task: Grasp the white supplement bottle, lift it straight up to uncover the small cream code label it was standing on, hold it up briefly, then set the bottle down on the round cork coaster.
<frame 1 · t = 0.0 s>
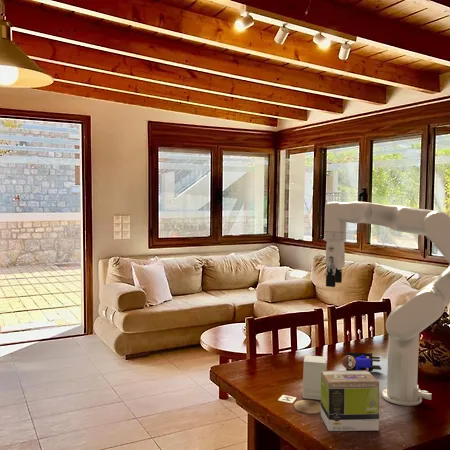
hand: (333, 284, 171), 37 cm above the table, tool pointing down, fingers open, 9 cm apart
character figurine: (361, 372, 187), on the table
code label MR: (287, 399, 160), on the table
cork coaster: (308, 407, 154), on the table
supplement box: (313, 395, 163), on the table, touching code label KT
tea box: (348, 424, 143), on the table
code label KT: (313, 395, 163), on the table
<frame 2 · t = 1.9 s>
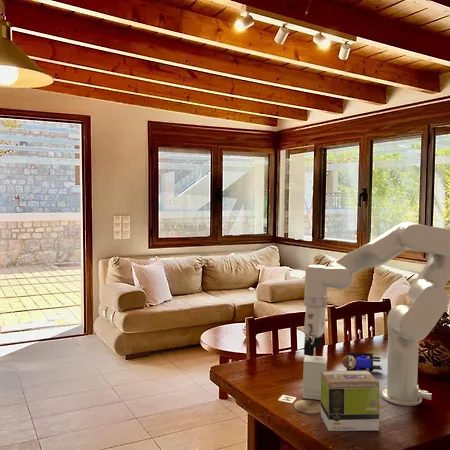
hand: (312, 351, 162), 15 cm above the table, tool pointing down, fingers open, 9 cm apart
nothing on the table moved.
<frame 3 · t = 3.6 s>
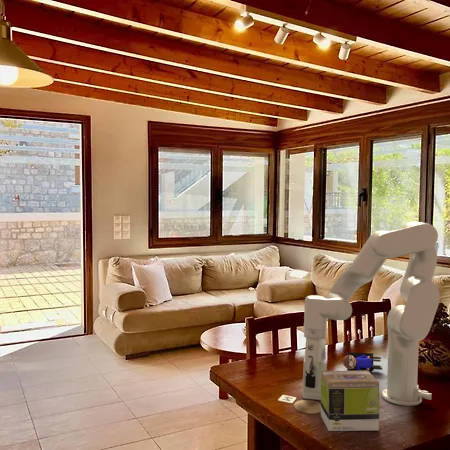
hand: (313, 382, 163), 5 cm above the table, tool pointing down, fingers closed on supplement box, 8 cm apart
supplement box: (313, 395, 163), on the table, touching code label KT, gripper
everything else where it was.
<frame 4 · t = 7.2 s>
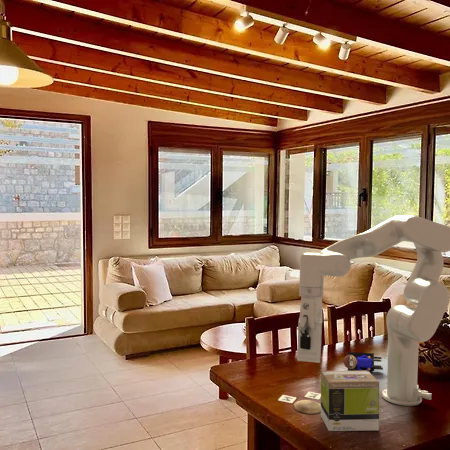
hand: (309, 345, 153), 20 cm above the table, tool pointing down, fingers closed on supplement box, 8 cm apart
supplement box: (309, 359, 154), point 16 cm above the table, touching gripper
everything else where it was.
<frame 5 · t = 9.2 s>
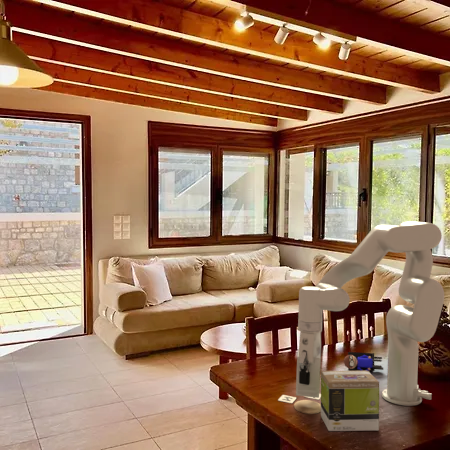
hand: (308, 379, 153), 9 cm above the table, tool pointing down, fingers closed on supplement box, 8 cm apart
supplement box: (307, 393, 153), point 5 cm above the table, touching gripper
everything else where it was.
when the fingers open (6 cm above the table, at t = 11.0 s): supplement box drops 1 cm, resting on cork coaster.
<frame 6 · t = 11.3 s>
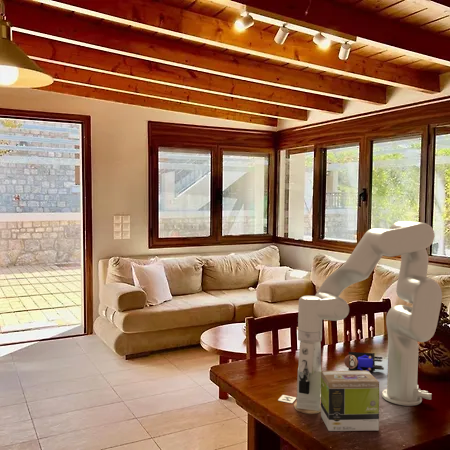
hand: (308, 387, 153), 6 cm above the table, tool pointing down, fingers open, 9 cm apart
supplement box: (308, 405, 154), resting on cork coaster
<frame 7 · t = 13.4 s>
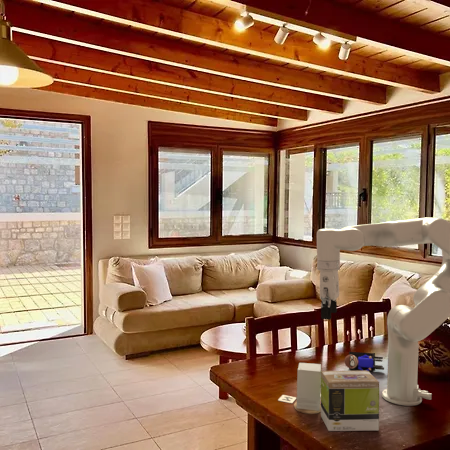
hand: (329, 315, 162), 28 cm above the table, tool pointing down, fingers open, 9 cm apart
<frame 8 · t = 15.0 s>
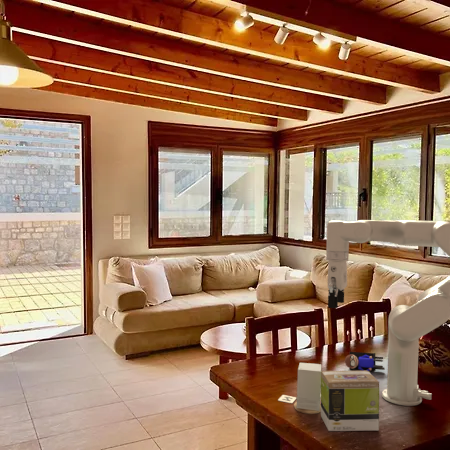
hand: (336, 305, 167), 30 cm above the table, tool pointing down, fingers open, 9 cm apart
at the end: supplement box inside the target area on the cork coaster (0.3 cm from its centre), point 0.5 cm above the cork coaster's base; supplement box tilted 0°; the gripper is holding nothing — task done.
